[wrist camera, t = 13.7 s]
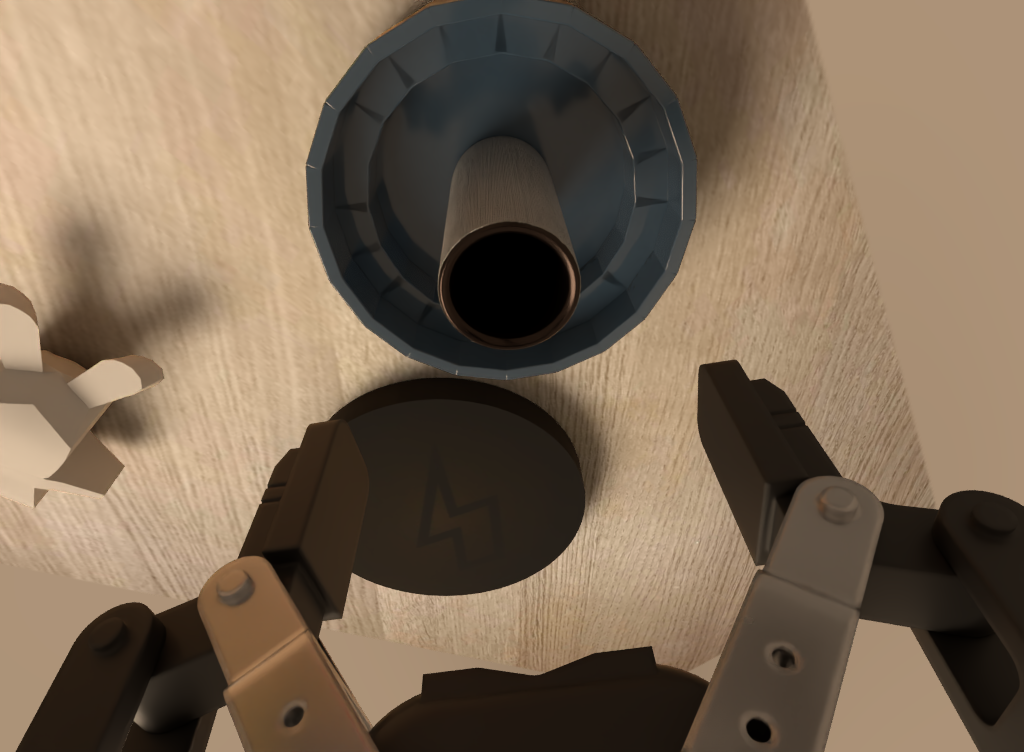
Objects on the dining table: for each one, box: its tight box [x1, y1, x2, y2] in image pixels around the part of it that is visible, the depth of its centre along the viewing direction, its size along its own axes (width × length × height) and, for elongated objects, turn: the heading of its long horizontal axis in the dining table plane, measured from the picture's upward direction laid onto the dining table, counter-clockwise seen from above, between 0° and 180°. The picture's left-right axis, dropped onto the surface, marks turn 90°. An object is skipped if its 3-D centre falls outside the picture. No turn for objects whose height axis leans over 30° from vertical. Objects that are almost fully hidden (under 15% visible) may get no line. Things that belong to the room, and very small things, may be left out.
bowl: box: [306, 0, 697, 380], centre depth 25 cm, size 15×15×5 cm
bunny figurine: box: [0, 283, 164, 509], centre depth 31 cm, size 10×5×15 cm
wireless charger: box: [329, 378, 585, 596], centre depth 38 cm, size 18×18×2 cm
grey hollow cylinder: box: [438, 136, 581, 350], centre depth 23 cm, size 4×4×10 cm
